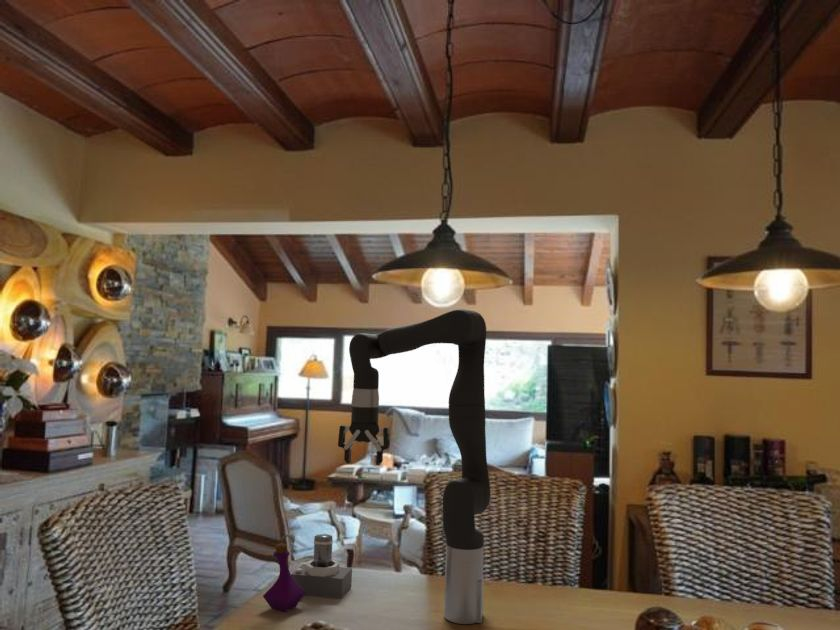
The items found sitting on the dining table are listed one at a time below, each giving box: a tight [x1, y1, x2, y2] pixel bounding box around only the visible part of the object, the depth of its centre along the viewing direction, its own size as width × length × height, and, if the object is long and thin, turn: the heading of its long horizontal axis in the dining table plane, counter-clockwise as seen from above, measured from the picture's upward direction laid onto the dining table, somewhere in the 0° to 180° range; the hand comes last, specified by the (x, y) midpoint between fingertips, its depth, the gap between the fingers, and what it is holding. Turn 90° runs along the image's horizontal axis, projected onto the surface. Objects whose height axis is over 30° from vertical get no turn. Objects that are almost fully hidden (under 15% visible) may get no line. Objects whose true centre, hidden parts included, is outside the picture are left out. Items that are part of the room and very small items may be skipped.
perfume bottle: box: [262, 533, 306, 613], centre depth 158 cm, size 8×8×18 cm
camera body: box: [290, 558, 353, 599], centre depth 170 cm, size 14×9×7 cm, turn 80°
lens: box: [313, 533, 334, 568], centre depth 171 cm, size 5×5×9 cm
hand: (363, 464), depth 176 cm, fingers open, 8 cm apart
